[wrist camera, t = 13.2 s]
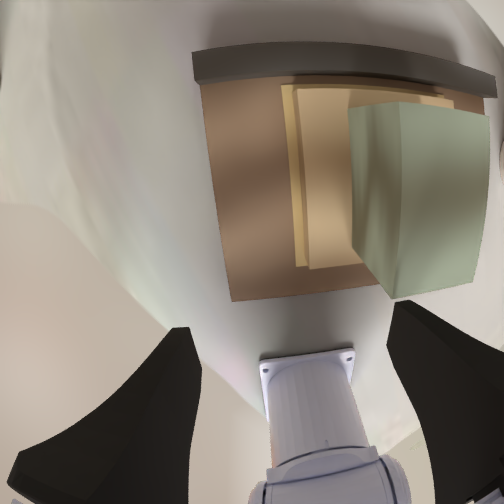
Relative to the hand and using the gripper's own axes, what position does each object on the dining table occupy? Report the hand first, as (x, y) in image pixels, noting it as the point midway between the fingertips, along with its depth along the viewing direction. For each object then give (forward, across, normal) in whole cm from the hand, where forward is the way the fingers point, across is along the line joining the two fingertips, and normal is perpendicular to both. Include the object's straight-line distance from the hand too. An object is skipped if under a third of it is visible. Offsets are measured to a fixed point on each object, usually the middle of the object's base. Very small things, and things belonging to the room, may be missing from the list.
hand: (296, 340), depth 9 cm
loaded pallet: (+7, -6, -4) cm, 10 cm away
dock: (+9, -6, -4) cm, 12 cm away
